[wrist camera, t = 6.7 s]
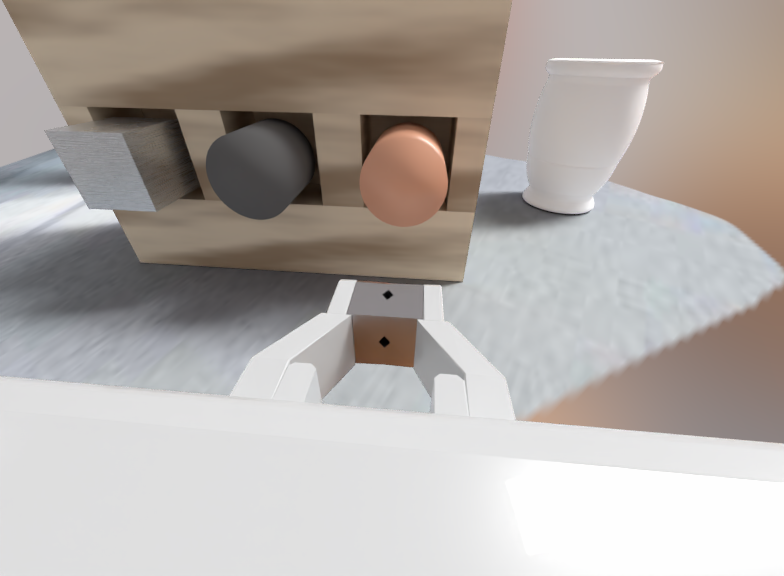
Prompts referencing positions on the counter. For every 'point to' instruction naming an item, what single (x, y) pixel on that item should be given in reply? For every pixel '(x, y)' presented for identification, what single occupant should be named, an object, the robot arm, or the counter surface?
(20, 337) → the counter surface
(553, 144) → the jar
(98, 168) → the gray metal cube
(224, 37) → the wooden holder box
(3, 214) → the counter surface
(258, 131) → the dark grey cylinder
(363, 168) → the terracotta button
